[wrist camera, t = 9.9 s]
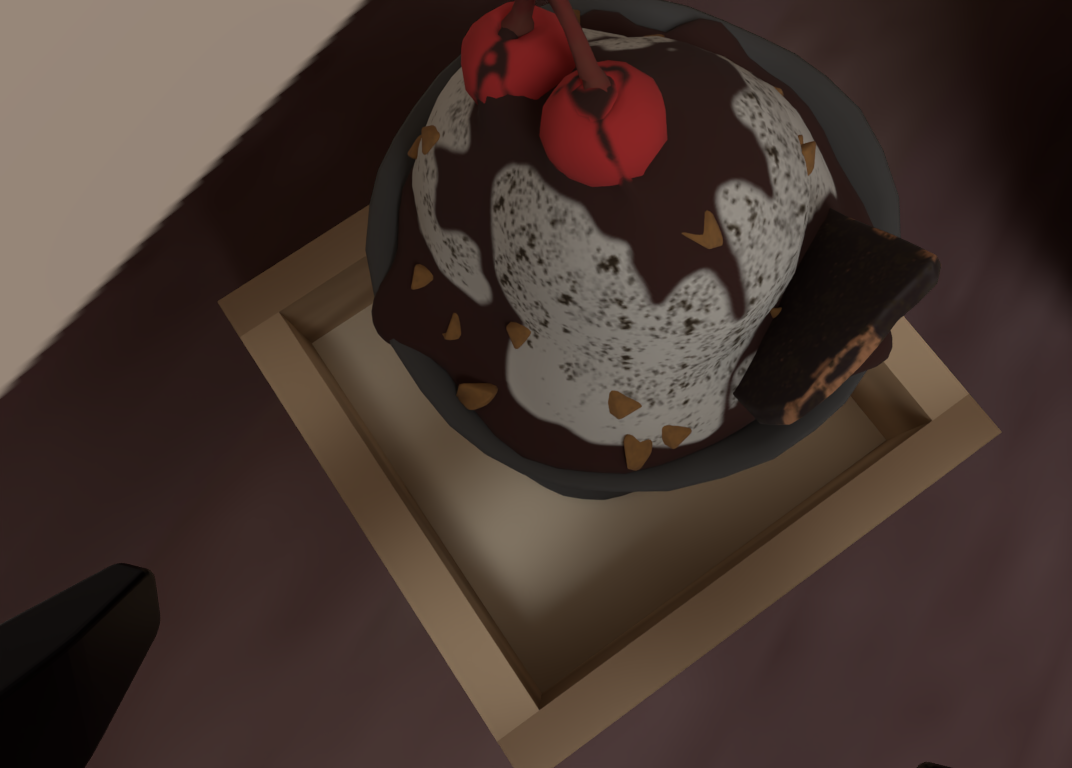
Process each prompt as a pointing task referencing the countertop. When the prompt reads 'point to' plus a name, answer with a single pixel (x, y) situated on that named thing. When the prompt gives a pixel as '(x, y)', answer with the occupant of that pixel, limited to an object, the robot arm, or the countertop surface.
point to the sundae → (636, 246)
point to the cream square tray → (577, 510)
